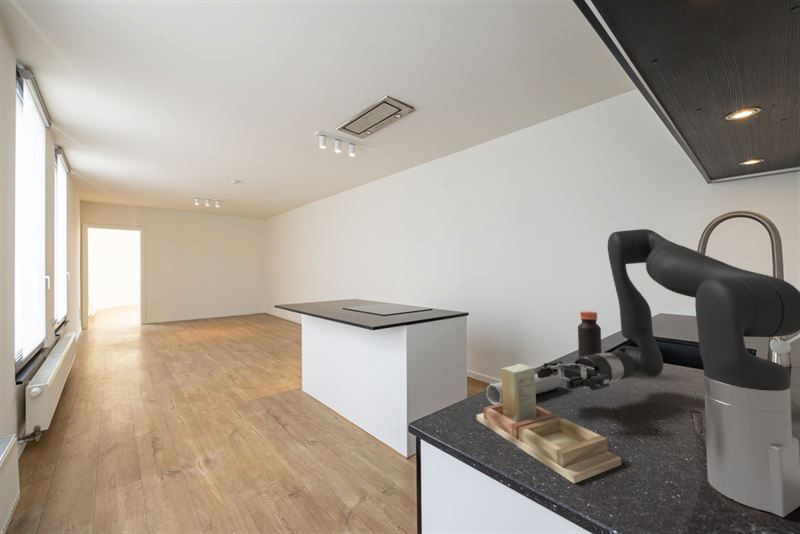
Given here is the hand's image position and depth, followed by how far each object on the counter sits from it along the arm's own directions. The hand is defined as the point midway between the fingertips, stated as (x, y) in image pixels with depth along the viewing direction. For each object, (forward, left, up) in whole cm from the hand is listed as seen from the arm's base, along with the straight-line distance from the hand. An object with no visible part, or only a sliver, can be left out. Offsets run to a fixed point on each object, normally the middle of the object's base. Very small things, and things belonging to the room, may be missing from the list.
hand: (552, 378), depth 78 cm
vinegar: (+21, -40, -9) cm, 46 cm away
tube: (+12, -5, -8) cm, 15 cm away
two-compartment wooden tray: (-5, +11, -9) cm, 15 cm away
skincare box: (0, +10, -8) cm, 13 cm away
